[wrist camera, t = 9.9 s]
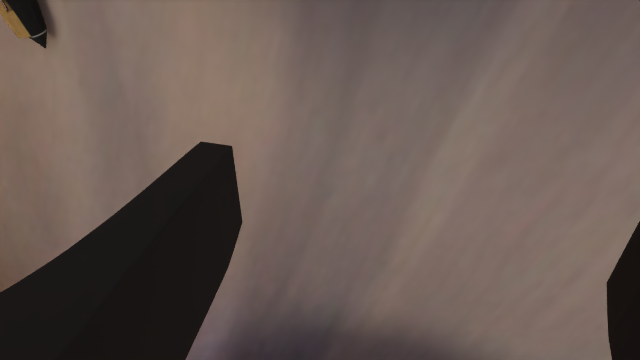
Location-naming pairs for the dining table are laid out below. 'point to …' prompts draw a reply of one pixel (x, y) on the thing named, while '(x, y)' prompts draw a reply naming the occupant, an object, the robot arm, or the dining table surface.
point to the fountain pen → (25, 19)
